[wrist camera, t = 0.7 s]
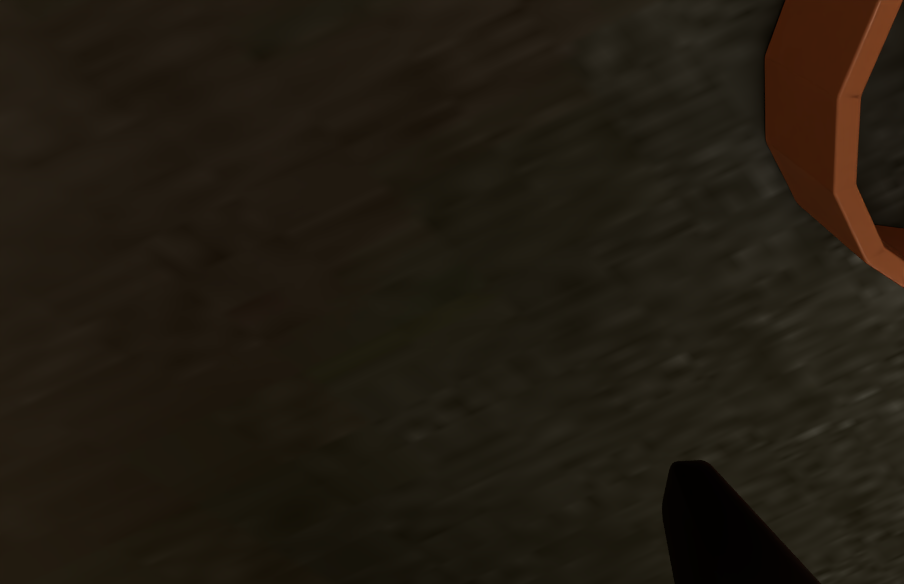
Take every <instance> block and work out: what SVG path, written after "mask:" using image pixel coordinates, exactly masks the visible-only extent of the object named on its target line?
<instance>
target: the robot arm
mask: <svg viewBox="0 0 904 584" xmlns="http://www.w3.org/2000/svg"><path fill="white" fill-rule="evenodd" d="M662 515H663V523H664V528H665V534H666V539H667V544H668V550H669V555H670V561H671V566H672V571H673V577H674V582H675V584H821V583H820V582H819V581H818V580H817V579H816V578H815V577H814V576H813V575H812V573H811V572H810V571H809V570H808V569H807V568H806V567H805V566H804V565H803V564H802V563H801V562H800V561H799V559H798V558H797V557H796V556H795V555H794V554H793V553H792V552H791V551H790V550H789V549H788V548H787V546H786V545H785V544H784V543H783V542H782V541H781V540H780V539H779V538H778V537H777V536H776V535H775V533H774V532H773V531H772V530H771V529H770V528H769V527H768V526H767V525H766V524H765V523H764V522H763V521H762V519H761V518H760V517H759V516H758V515H757V514H756V513H755V512H754V511H753V510H752V509H751V508H750V506H749V505H748V504H747V503H746V502H745V501H744V500H743V499H742V498H741V497H740V496H739V495H738V493H737V492H736V491H735V490H734V489H733V488H732V487H731V486H730V485H729V484H728V483H727V482H726V481H725V479H724V478H723V477H722V476H721V475H720V474H719V473H718V472H717V471H716V470H715V469H714V468H713V467H712V466H711V465H710V464H709V463H708V462H705V461H702V460H694V461H677V462H674V463H673V464H672V465H671V467H670V469H669V474H668V479H667V483H666V488H665V493H664V497H663V503H662Z"/></svg>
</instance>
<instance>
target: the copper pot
mask: <svg viewBox="0 0 904 584" xmlns="http://www.w3.org/2000/svg"><path fill="white" fill-rule="evenodd" d="M902 1H903V0H785V3H784V5H783V8H782V11H781V13H780V16H779V19H778V22H777V24H776V27H775V30H774V33H773V35H772V38H771V41H770V43H769V46H768V49H767V52H766V54H765V136H766V143H767V145H768V147H769V149H770V151H771V153H772V155H773V157H774V159H775V161H776V163H777V165H778V167H779V168H780V170H781V172H782V174H783V176H784V178H785V180H786V182H787V184H788V186H789V188H790V190H791V192H792V194H793V196H794V198H795V200H796V202H797V203H798V205H800V206H801V207H802V208H803V209H804V210H805V211H806V212H808V213H809V214H810V215H811V216H812V217H813V218H815V219H816V220H817V221H818V222H819V223H820V224H821V225H823V226H824V227H825V228H826V229H827V230H828V231H829V232H831V233H832V234H833V235H834V236H835V237H836V238H838V239H839V240H840V241H841V242H842V243H843V244H844V245H846V246H847V247H848V248H849V249H850V250H851V251H853V252H854V253H855V254H856V255H857V256H858V257H859V258H861V259H862V260H863V261H864V262H865V263H866V264H868V265H870V266H871V267H873V268H874V269H876V270H877V271H879V272H880V273H882V274H883V275H885V276H886V277H888V278H889V279H891V280H892V281H894V282H895V283H897V284H898V285H900V286H902V287H903V288H904V229H903V228H895V227H887V226H880V225H874V223H873V221H872V218H871V216H870V214H869V212H868V210H867V207H866V205H865V203H864V201H863V198H862V196H861V194H860V192H859V189H858V187H857V185H856V177H857V159H858V141H859V123H860V106H861V95H862V93H863V90H864V88H865V86H866V84H867V81H868V79H869V77H870V74H871V72H872V70H873V68H874V65H875V63H876V61H877V58H878V56H879V54H880V52H881V49H882V47H883V45H884V42H885V40H886V38H887V36H888V33H889V31H890V29H891V26H892V24H893V22H894V20H895V17H896V15H897V13H898V10H899V8H900V6H901V4H902Z"/></svg>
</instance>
